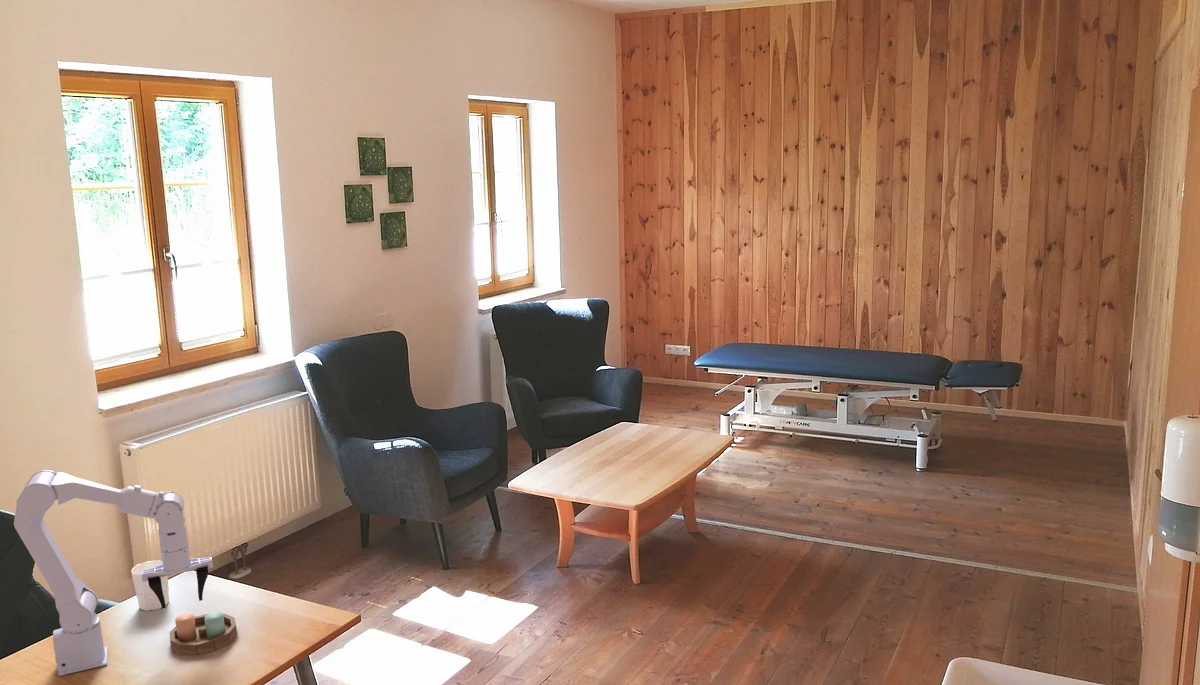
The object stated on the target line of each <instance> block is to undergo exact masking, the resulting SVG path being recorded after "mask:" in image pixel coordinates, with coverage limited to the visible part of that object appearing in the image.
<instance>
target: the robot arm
mask: <svg viewBox="0 0 1200 685" xmlns="http://www.w3.org/2000/svg"><path fill="white" fill-rule="evenodd" d="M73 499H79V500H84V501H90V502H97V503H103V504H108V505H114V506H116V508H117V509H118V511H119V512H120V513H123V514H124V513H125V514H129V515H132V516H133V515H134V516H139V517H143V518H147V519H154V521H155V522H156V523H157V527H158V530H157V533H158V534H157V535H158V540H159V547H160V553H161V561H162V562H163V564H162V565H159V566H156V567H153V568H150V569H147V570H143V571H142V580H143V582H146V581H148V583H149V587H150V588H151V589H152V590H153V592H154V593H155V594H156V596H157V597H158V599H159V601H160V603H161V606H162V608H161V609H163V610H164V609H166V606H167V605H166V606H165V599H164V595H163V591H162V584H161V577H164V576H168V577H169V576H172V575H179V574H183V573H189V572H193V571H195V573H196V579H197V595H198V596H197V597H198V601H199V602H200V601H201V602H202V601H203V593H204V588H205V585H206V582H207V578H208V576H209V569H213V568H214V565H213V559H212V556H208V557H199V558H198V557H197V558H191V553H190V547H189V541H188V540H189V538H188V531H187V526H186V523H185V517H184V507H185V504H184V503H185V502H184V498H183V497H182V496H181V495H180V494H178V493H176V492H174V491H172V490H171V491H170V490H169V491H166V492H165V491H159V492H158V491H157V492H156V491H151V490H148V489H143V488H142V486H141V485H138V484H135V485H134V486H131V485H128V486H126V487H124V488H121V489H120V488H119V489H118V488H116V487H112V486H108V485H105V484H101V483H98V482H94V481H91V480H87V479H84V478H80V477H76V476H74V475H71V474H68V473H66V472H62V471H60V472H59V471H58V472H55V471H53V470H49V469H40V470H39V471H36V472H35V473H34V474H32V475H31V476H30V479H29V480H28V482H27V483H26V485H24V488H23V489H22V490H21V493H20V494H19V496H18V497H17V499H16V501H15V502H16V506H15V513H14V519H13V520H14V521H13V526H14V528H15V530H16V532H17V534H18V535H19V538H20V539H21V540H22V542H23V544H24V546H25V547H26V549H27V551H28V552H29V554H30V556H31V557H32V559H33V561H34V563H35V564H36V566H37V568H38V570H39V571H40V573H41V575H42V576H43V578H44V580H45V581H46V583H47V584H48V587H49V588H50V590H51V591H52V593H53V595H54V602H55V609H56V610H57V612H58V615H59V619H58V620H59V625H60V628H57V629H54V630H53V632H52V643H53V644H52V645H53V650H54V658H55V659H54V660H55V663H56V668H57V676H58V677H61V676H65V675H68V674H74V673H78V672H82V671H87V670H91V669H95V668H100V667H102V666H106V665H107V664H108V654H109V652H108V648H109V647H108V646H105V645H104V639H103V634H102V633H103V631H102V626H101V620H100V617H99V615H98V614H97V613H96V611H95V610H96V607H97V606H98V602H99V601H98V600H99V598H98V595H97V594H96V593H95V591H93V590H92V589H90V588H88V587H87V586H86V584H85V582H84V581H83V580H81V579H78V577H77V576H76V573H74V571H73V568H72V566H70V563H69V562H68V560H67V559H66V557H65V555H64V554H63V551H62V550H61V548H60V547H59V544H58V543H57V541H56V539H55V538H54V536H53V534H52V533H51V531H50V529H49V528H48V526H47V523H46V522H45V520H44V516H45V515H46V513H47V511H48V510H50V508H52V506H54V504H55V501H56V500H57V504H58V506H59V505H62V504H64V503H65V504H66V503H67V502H70V501H72V500H73Z"/></svg>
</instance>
